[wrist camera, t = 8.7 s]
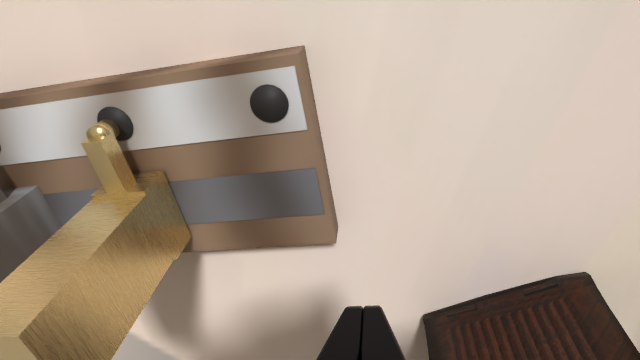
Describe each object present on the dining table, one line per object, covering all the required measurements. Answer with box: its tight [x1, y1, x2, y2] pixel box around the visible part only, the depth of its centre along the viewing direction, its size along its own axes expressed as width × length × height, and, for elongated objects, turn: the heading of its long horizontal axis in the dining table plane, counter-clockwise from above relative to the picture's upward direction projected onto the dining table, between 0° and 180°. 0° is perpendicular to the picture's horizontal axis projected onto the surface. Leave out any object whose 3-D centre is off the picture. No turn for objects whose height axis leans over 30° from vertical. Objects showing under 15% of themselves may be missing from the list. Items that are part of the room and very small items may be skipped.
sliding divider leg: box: [0, 119, 191, 360], centre depth 17 cm, size 3×8×10 cm, turn 10°
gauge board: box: [0, 46, 338, 283], centre depth 17 cm, size 20×10×12 cm, turn 100°
